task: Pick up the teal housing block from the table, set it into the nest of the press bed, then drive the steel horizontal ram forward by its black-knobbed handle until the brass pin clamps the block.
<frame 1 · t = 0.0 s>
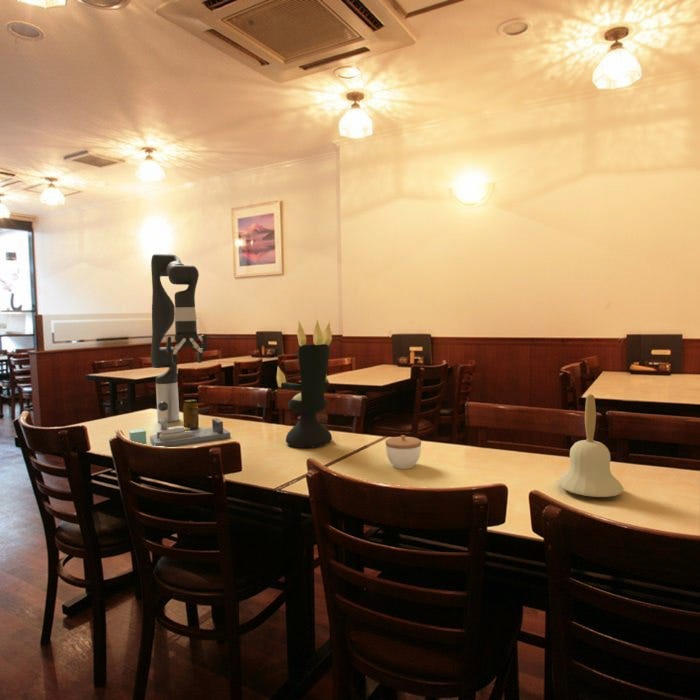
hand: (187, 363, 187), 29 cm above the table, tool pointing down, fingers open, 8 cm apart
condiment: (191, 429, 209), on the table
lidded jar: (403, 466, 153), on the table
handbell: (589, 492, 128), on the table
press bed: (189, 439, 191), on the table
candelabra: (312, 444, 181), on the table
housing: (138, 447, 182), on the table
ram: (172, 418, 188), point 9 cm above the table, slide at 0.0 cm
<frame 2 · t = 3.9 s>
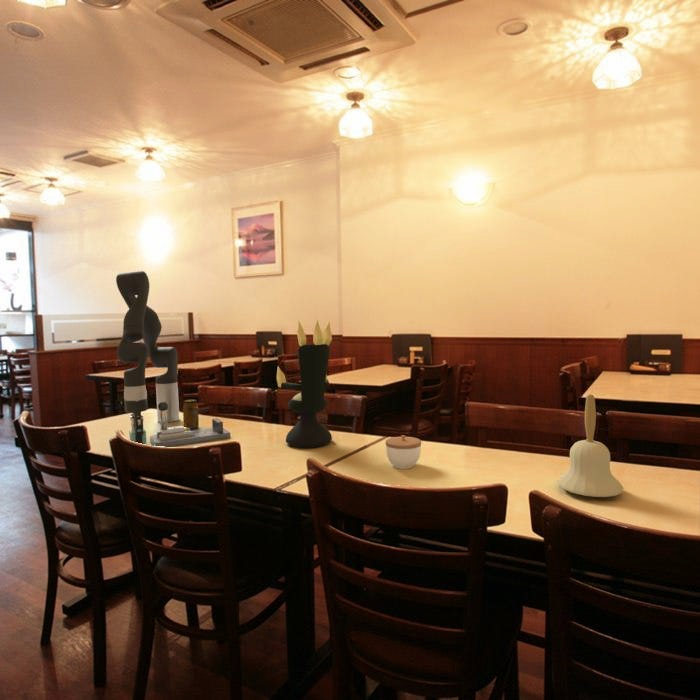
hand: (138, 444, 182), 1 cm above the table, tool pointing down, fingers closed on housing, 5 cm apart
housing: (138, 446, 182), on the table, touching gripper
everything else where it was.
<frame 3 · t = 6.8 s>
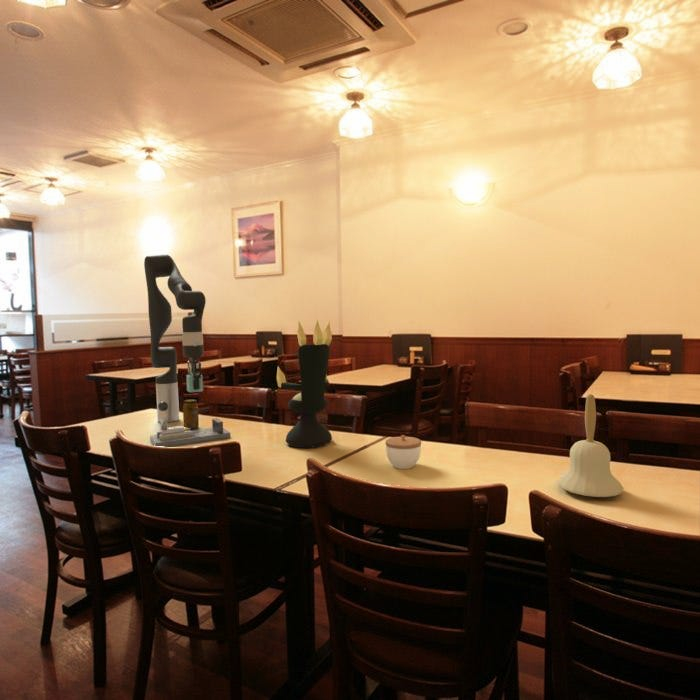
hand: (195, 388, 191), 19 cm above the table, tool pointing down, fingers closed on housing, 5 cm apart
housing: (195, 390, 191), point 18 cm above the table, touching gripper
everything else where it was.
when the fingers open (4 cm above the table, at t = 10.0 s): housing stays where it is, resting on press bed.
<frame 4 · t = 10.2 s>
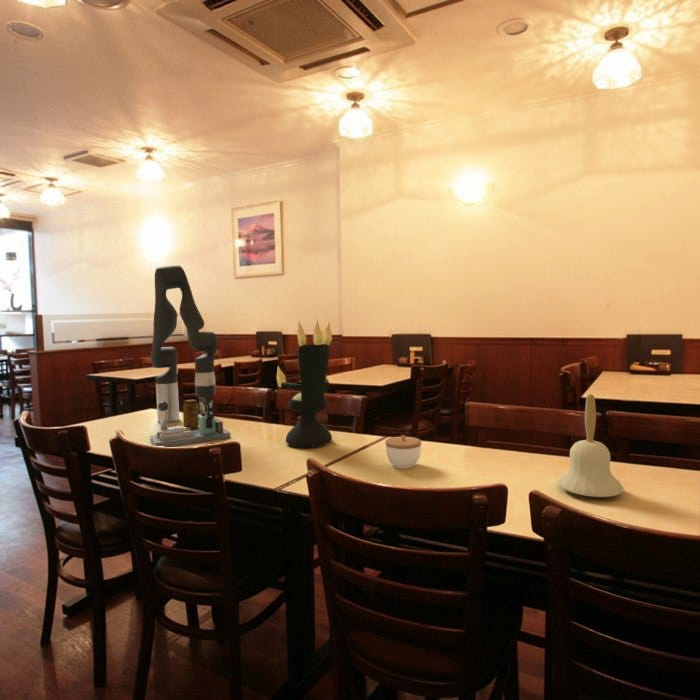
hand: (207, 426, 194), 4 cm above the table, tool pointing down, fingers open, 6 cm apart
housing: (207, 431, 195), point 2 cm above the table, touching press bed
everything else where it was.
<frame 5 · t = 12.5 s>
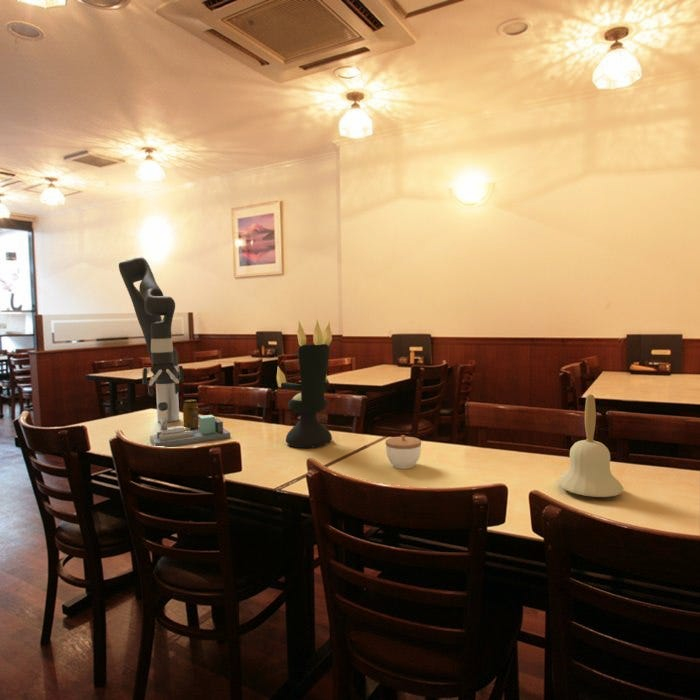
hand: (164, 394, 186), 18 cm above the table, tool pointing down, fingers open, 8 cm apart
nothing on the table moved.
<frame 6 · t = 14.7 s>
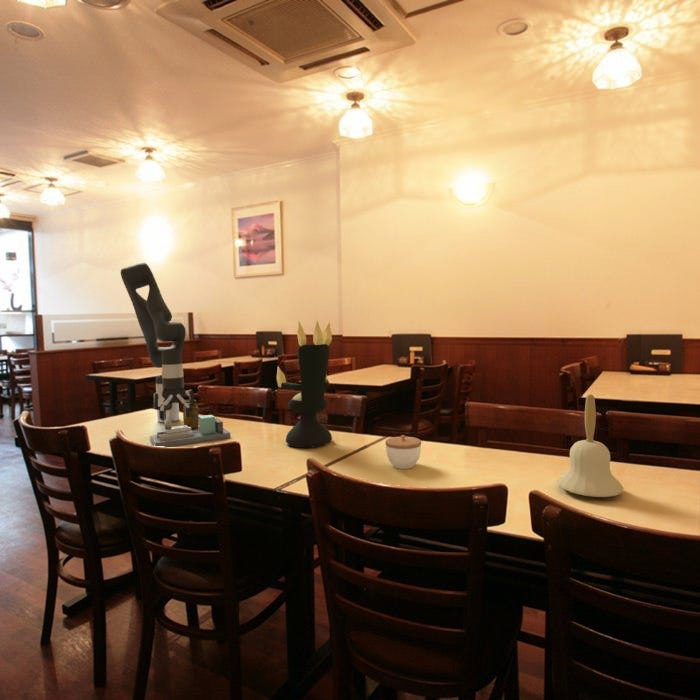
hand: (174, 419, 188), 9 cm above the table, tool pointing down, fingers open, 8 cm apart
ram: (176, 417, 189), point 9 cm above the table, slide at 1.5 cm, touching gripper
everything else where it was.
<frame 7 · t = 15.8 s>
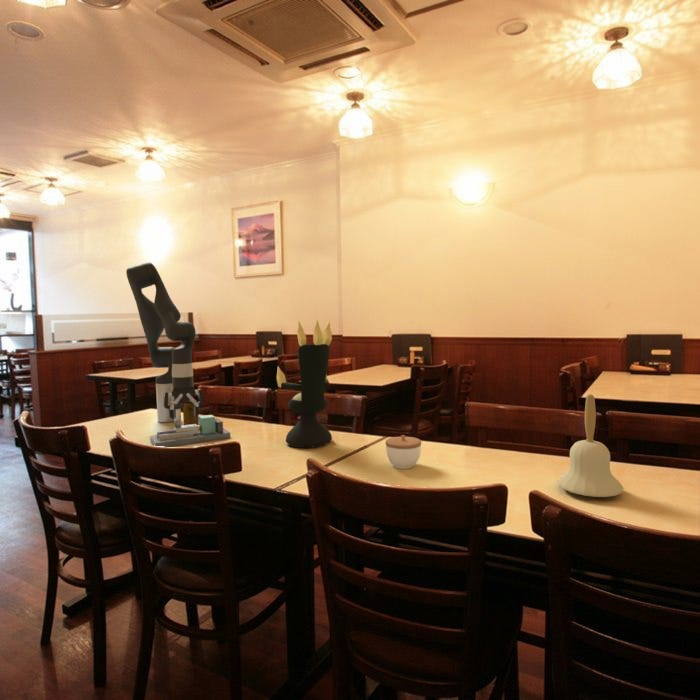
hand: (184, 417, 190), 9 cm above the table, tool pointing down, fingers open, 8 cm apart
housing: (207, 431, 195), point 2 cm above the table, touching press bed, ram
ram: (186, 416, 190), point 9 cm above the table, slide at 5.0 cm, touching gripper, housing
everything else where it was.
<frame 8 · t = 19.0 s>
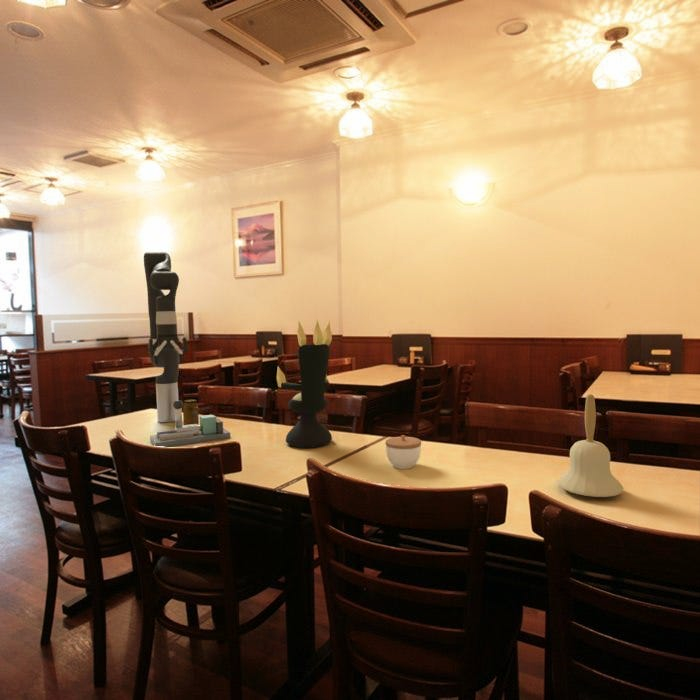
hand: (168, 364, 198), 28 cm above the table, tool pointing down, fingers open, 8 cm apart
housing: (208, 431, 195), point 2 cm above the table, touching press bed
ram: (187, 416, 191), point 9 cm above the table, slide at 5.3 cm
everything else where it was.
at the end: housing 0.2 cm from the target spot, point 2.0 cm above the table; housing tilted 0°; ram slide at 5.3 cm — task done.
